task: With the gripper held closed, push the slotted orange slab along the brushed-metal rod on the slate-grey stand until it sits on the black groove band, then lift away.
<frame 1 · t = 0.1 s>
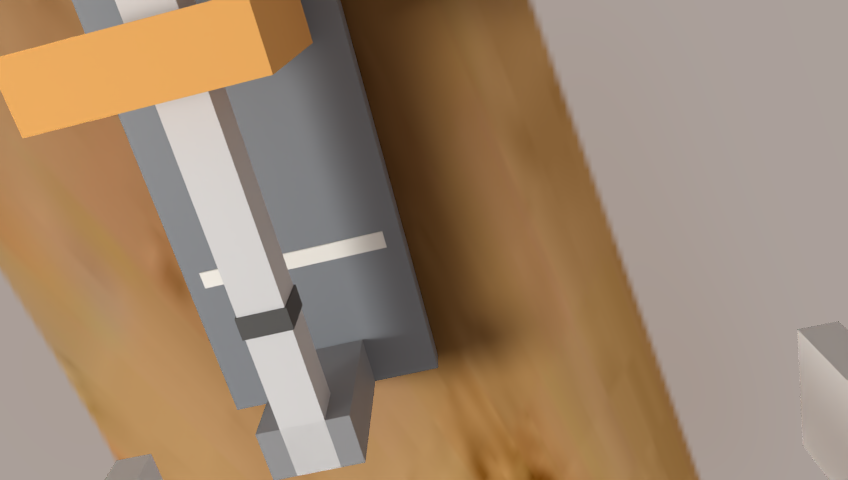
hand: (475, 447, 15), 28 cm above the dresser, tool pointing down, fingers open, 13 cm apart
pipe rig: (270, 171, 42), on the dresser
slotted orange slab: (174, 50, 31), point 8 cm above the dresser, slide at 0.0 cm
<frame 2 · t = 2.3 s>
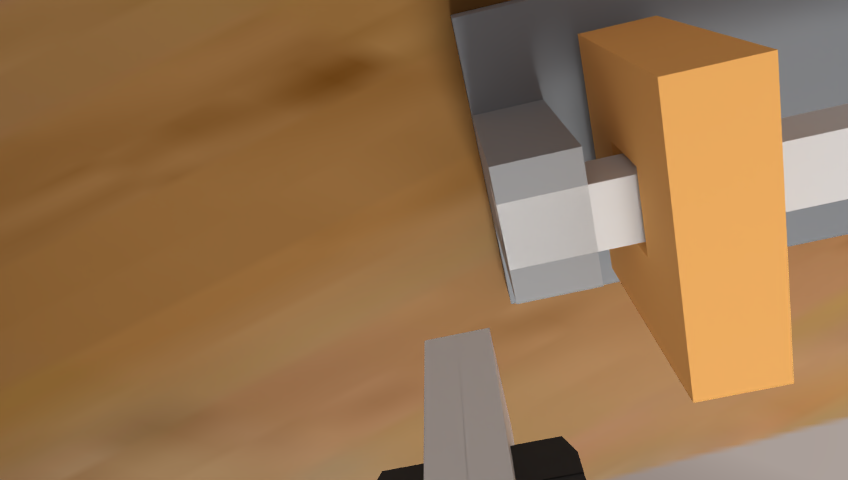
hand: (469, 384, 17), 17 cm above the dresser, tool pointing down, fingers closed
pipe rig: (797, 91, 31), on the dresser
slotted orange slab: (672, 187, 25), point 8 cm above the dresser, slide at 0.0 cm
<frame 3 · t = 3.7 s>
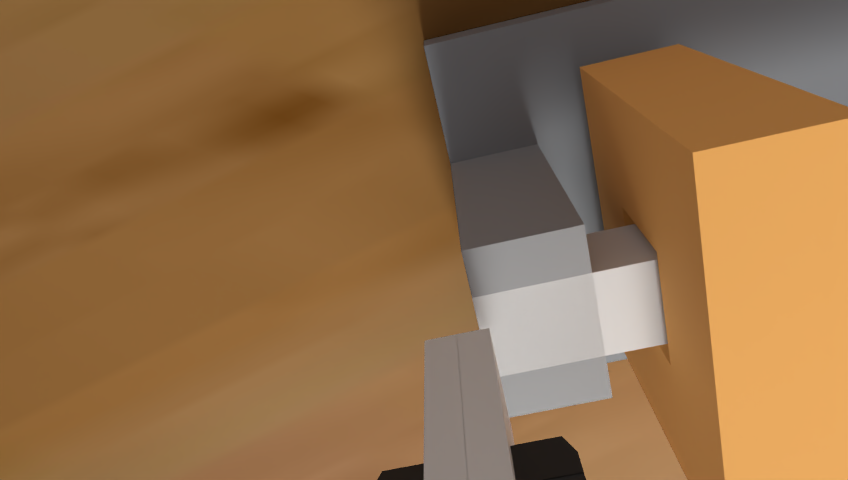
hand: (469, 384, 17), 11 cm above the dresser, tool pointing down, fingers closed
slotted orange slab: (702, 270, 19), point 8 cm above the dresser, slide at 0.0 cm
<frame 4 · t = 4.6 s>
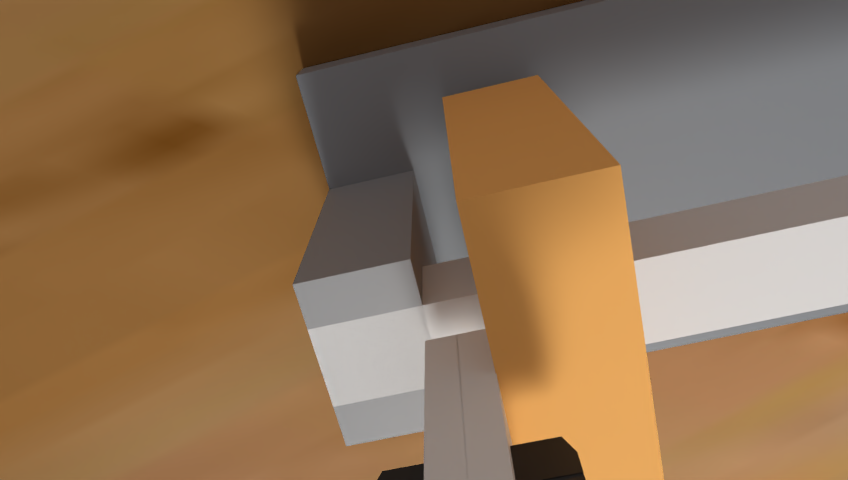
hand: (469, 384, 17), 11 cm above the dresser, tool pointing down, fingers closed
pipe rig: (725, 156, 26), on the dresser
slotted orange slab: (542, 301, 20), point 8 cm above the dresser, slide at 0.0 cm, touching gripper
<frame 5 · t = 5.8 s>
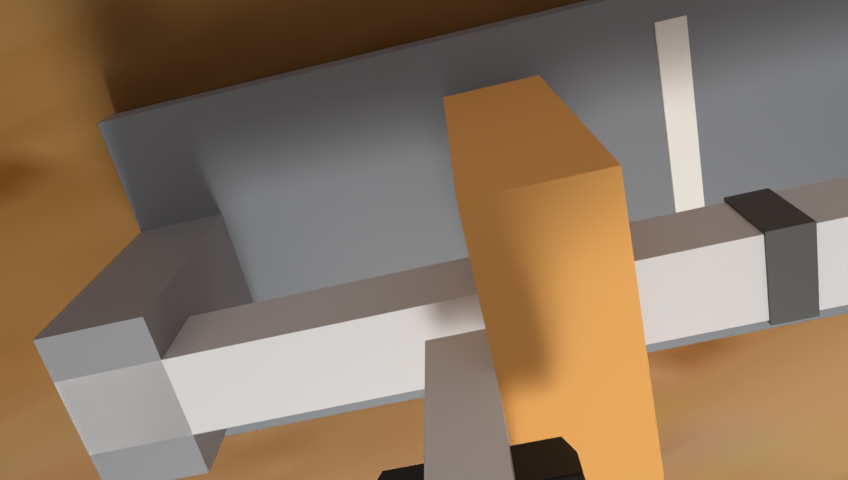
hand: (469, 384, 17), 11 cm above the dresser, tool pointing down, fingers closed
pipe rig: (537, 198, 27), on the dresser
slotted orange slab: (542, 301, 20), point 8 cm above the dresser, slide at 7.0 cm, touching gripper
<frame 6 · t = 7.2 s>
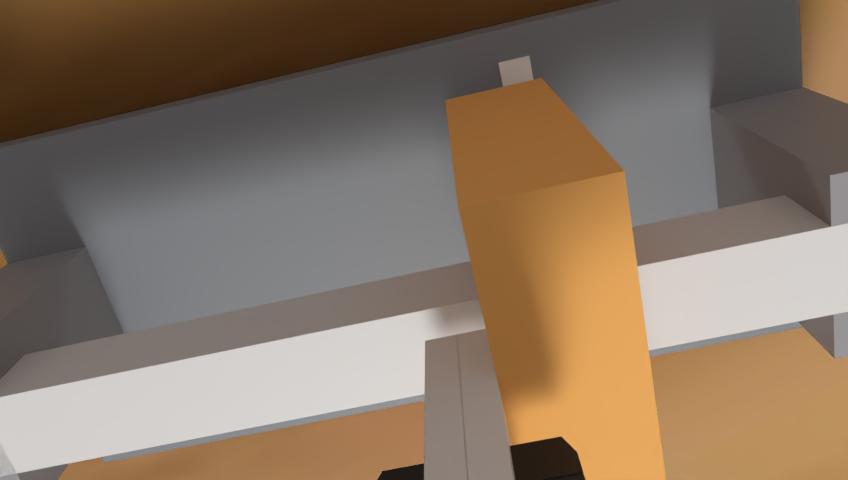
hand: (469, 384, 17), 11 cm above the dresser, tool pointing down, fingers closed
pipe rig: (404, 230, 27), on the dresser
slotted orange slab: (544, 305, 19), point 8 cm above the dresser, slide at 12.1 cm, touching gripper
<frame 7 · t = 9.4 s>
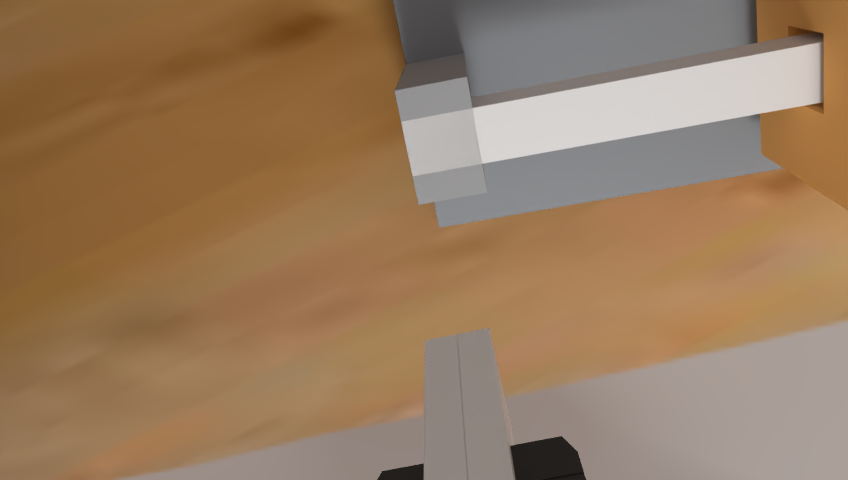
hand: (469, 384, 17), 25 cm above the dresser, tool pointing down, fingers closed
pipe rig: (681, 56, 38), on the dresser
slotted orange slab: (843, 61, 30), point 8 cm above the dresser, slide at 12.2 cm
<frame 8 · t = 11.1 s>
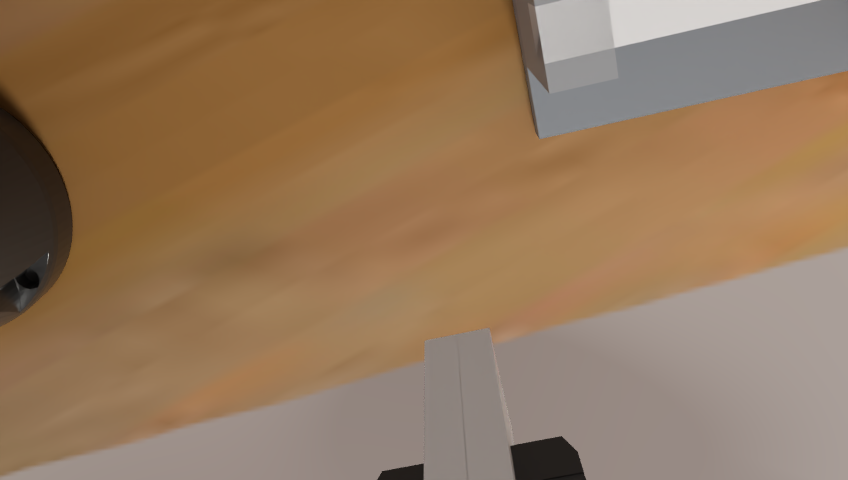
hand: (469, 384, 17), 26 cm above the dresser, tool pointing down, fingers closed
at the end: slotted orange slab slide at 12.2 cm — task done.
